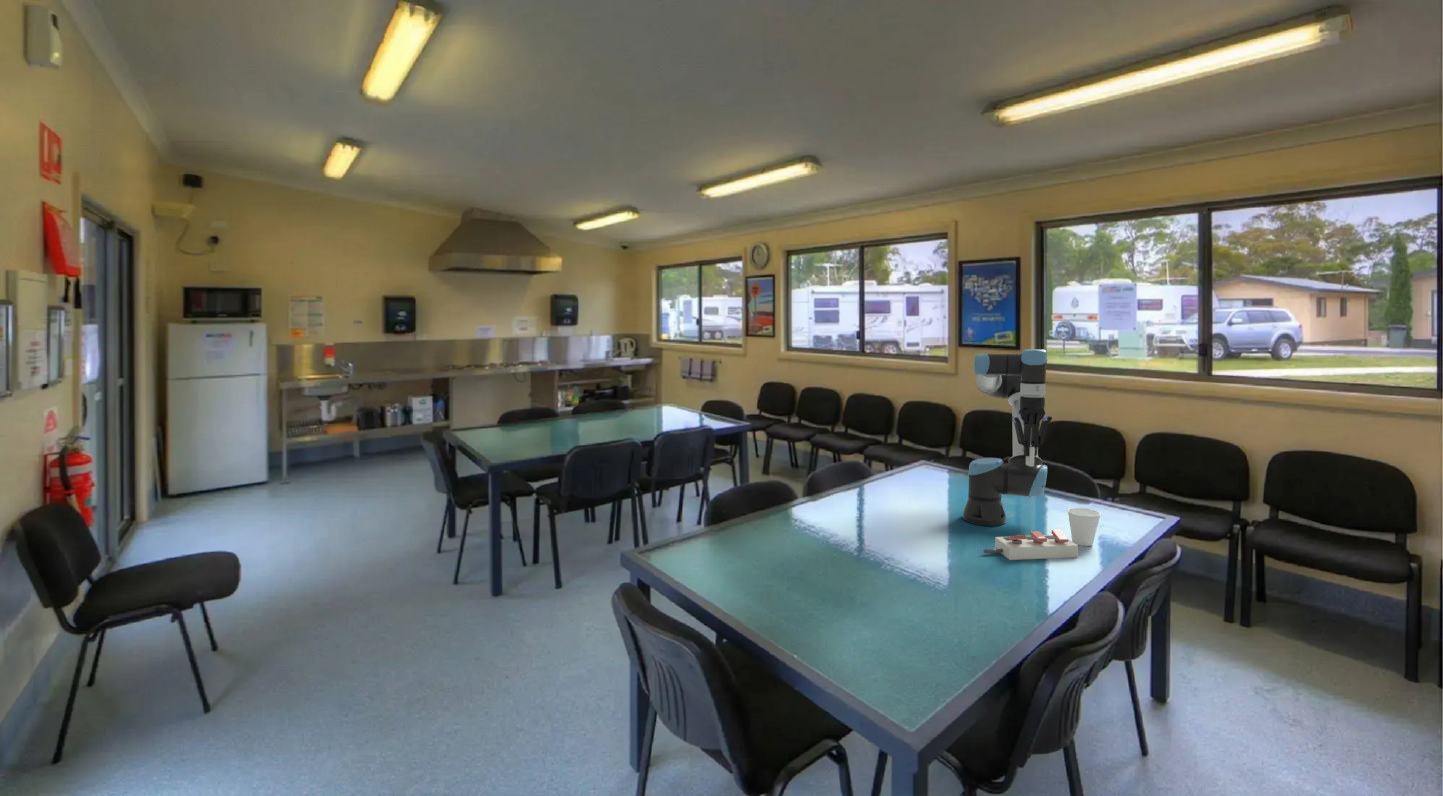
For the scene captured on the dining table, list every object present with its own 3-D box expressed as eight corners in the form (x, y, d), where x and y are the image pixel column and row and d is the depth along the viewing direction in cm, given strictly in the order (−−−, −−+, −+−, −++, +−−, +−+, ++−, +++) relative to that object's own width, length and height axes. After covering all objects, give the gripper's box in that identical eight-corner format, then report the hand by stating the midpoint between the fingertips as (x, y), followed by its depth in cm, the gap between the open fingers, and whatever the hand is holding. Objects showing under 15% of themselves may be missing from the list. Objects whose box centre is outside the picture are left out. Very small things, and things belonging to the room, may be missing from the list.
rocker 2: (1030, 534, 210) (1030, 531, 209) (1038, 534, 210) (1038, 530, 210) (1038, 542, 205) (1038, 538, 205) (1046, 541, 205) (1047, 538, 205)
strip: (977, 549, 214) (977, 534, 213) (1059, 546, 215) (1060, 531, 214) (991, 560, 204) (991, 545, 203) (1077, 557, 205) (1078, 542, 204)
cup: (1104, 549, 211) (1105, 516, 210) (1071, 547, 213) (1072, 515, 212) (1093, 539, 221) (1094, 507, 220) (1061, 537, 223) (1063, 506, 222)
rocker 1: (1009, 539, 209) (1008, 535, 210) (1017, 539, 209) (1017, 535, 210) (1016, 539, 204) (1016, 535, 205) (1025, 539, 204) (1024, 534, 205)
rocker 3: (1051, 532, 210) (1052, 529, 209) (1059, 532, 210) (1060, 529, 210) (1059, 542, 206) (1060, 539, 205) (1067, 542, 206) (1068, 539, 205)
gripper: (1018, 397, 210) (1016, 468, 213) (1058, 396, 211) (1054, 467, 214) (1007, 395, 218) (1005, 463, 221) (1045, 394, 218) (1042, 462, 221)
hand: (1029, 465), depth 217 cm, fingers closed
